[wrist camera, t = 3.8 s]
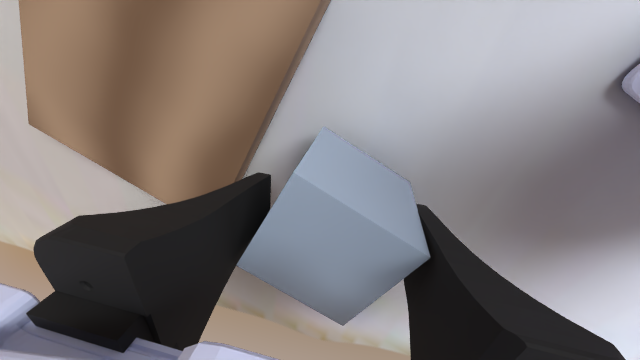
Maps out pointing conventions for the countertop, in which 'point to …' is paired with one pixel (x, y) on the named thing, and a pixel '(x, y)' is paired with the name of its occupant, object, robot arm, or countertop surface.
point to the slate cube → (338, 231)
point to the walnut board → (163, 83)
